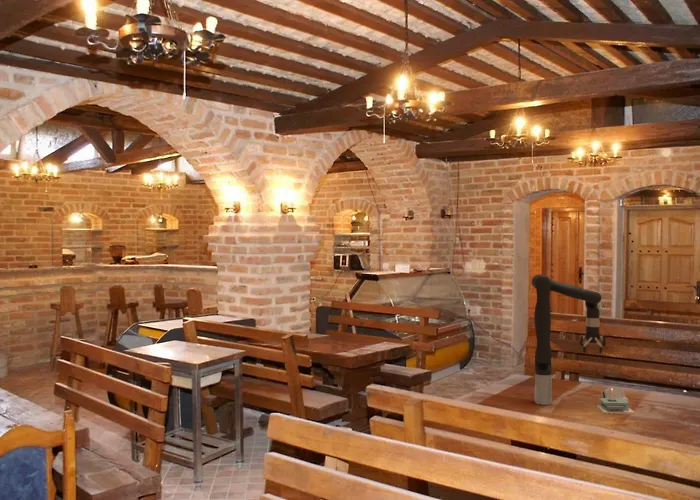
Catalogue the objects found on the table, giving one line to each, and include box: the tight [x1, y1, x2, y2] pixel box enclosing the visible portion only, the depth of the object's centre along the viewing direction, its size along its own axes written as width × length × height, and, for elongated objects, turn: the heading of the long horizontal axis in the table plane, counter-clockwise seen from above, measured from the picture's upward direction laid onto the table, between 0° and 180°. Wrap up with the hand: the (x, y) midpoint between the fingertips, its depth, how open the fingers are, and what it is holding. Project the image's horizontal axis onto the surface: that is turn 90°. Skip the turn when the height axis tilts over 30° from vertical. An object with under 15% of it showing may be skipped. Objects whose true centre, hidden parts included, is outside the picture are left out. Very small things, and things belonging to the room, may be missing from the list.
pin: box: [608, 387, 615, 402], centre depth 357 cm, size 3×3×11 cm
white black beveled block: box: [600, 386, 630, 403], centre depth 373 cm, size 17×5×10 cm, turn 119°
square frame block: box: [596, 397, 635, 415], centre depth 355 cm, size 16×13×5 cm
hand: (592, 353), depth 371 cm, fingers open, 8 cm apart
